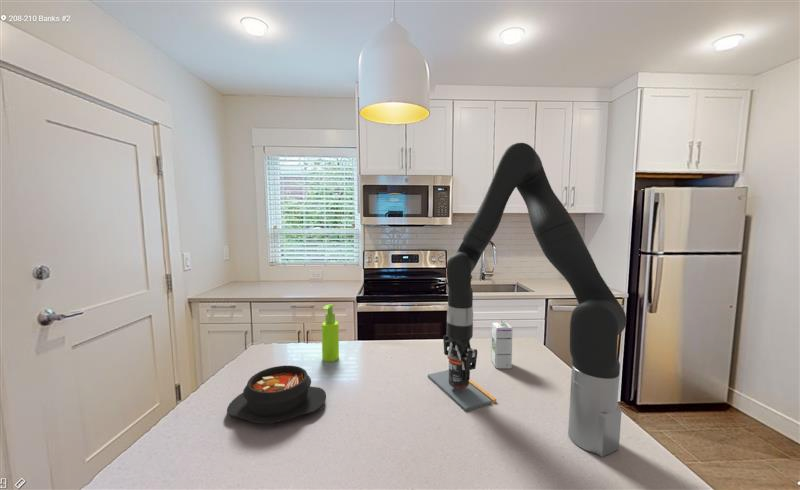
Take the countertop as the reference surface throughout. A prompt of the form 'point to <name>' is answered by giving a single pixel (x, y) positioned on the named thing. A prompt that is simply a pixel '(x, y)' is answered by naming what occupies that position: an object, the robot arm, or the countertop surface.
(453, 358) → the supplement bottle
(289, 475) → the countertop surface
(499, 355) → the syrup box
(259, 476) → the countertop surface
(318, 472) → the countertop surface
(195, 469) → the countertop surface
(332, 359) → the soap dispenser
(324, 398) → the casserole
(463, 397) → the grey board
